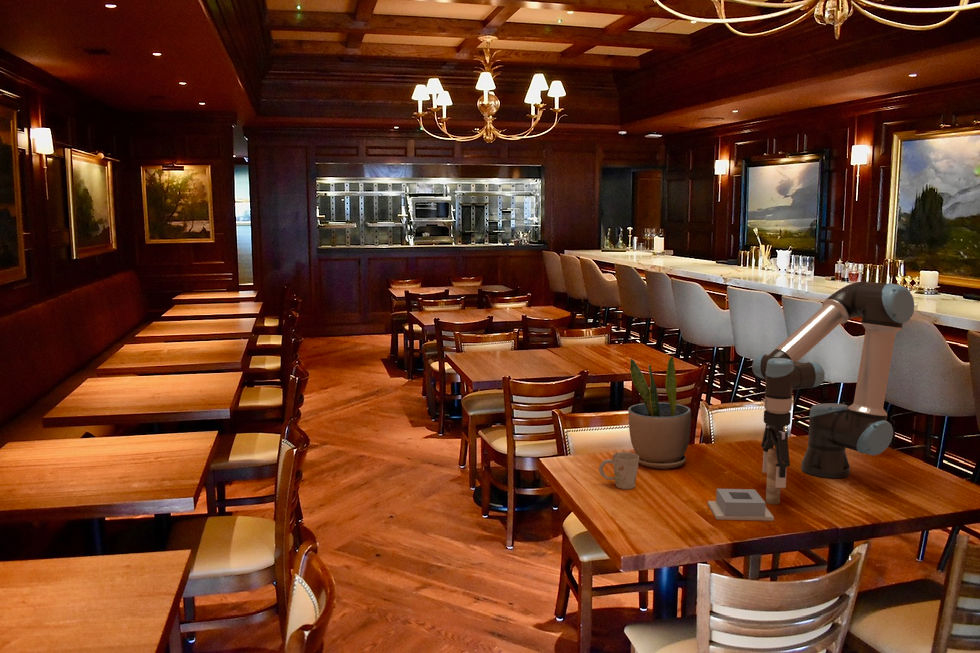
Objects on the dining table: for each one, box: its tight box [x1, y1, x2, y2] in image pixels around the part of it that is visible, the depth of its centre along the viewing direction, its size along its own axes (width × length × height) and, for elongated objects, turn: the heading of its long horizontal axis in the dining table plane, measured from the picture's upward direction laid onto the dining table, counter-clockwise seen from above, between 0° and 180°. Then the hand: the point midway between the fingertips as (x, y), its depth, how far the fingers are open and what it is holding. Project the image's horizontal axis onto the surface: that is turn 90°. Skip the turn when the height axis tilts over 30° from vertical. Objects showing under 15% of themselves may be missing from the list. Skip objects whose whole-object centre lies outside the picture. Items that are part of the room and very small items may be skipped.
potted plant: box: [627, 354, 692, 470], centre depth 274 cm, size 21×22×40 cm
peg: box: [765, 448, 782, 505], centre depth 238 cm, size 4×4×16 cm
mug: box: [598, 451, 639, 490], centre depth 253 cm, size 8×13×10 cm, turn 78°
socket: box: [707, 488, 775, 522], centre depth 231 cm, size 16×12×5 cm
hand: (773, 479), depth 238 cm, fingers open, 13 cm apart
